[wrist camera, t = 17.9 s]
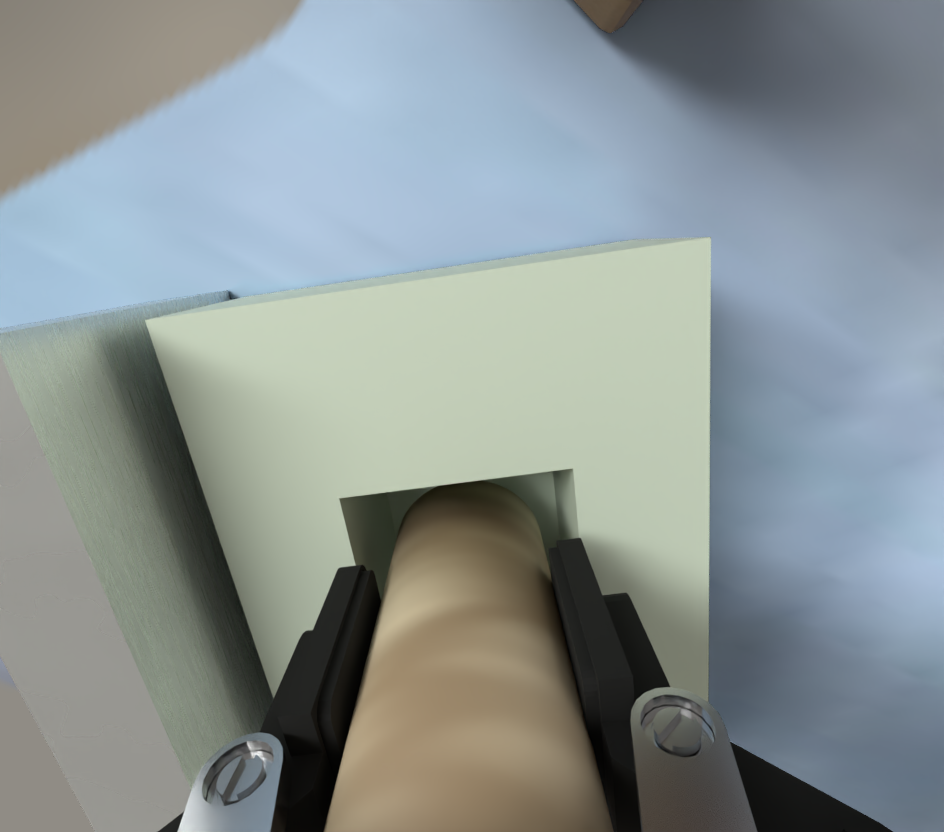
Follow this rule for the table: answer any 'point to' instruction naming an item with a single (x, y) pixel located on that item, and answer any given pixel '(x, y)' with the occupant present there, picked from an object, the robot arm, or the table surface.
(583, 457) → the socket block
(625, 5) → the wooden block
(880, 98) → the table surface
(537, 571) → the wooden dowel
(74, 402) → the backstop board
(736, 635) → the table surface
